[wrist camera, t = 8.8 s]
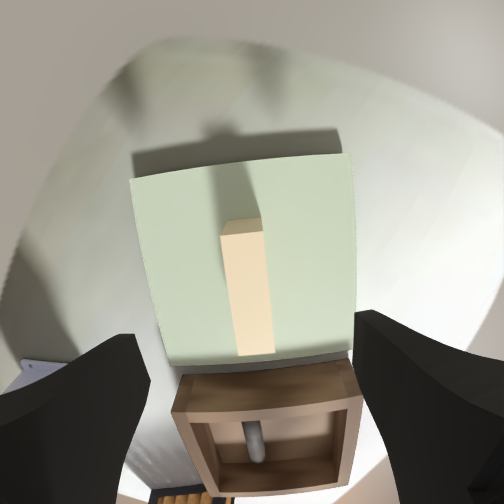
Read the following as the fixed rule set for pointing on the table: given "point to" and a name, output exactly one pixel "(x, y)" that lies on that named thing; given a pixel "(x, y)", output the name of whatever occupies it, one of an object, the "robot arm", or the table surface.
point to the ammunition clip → (186, 496)
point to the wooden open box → (271, 428)
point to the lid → (251, 258)
